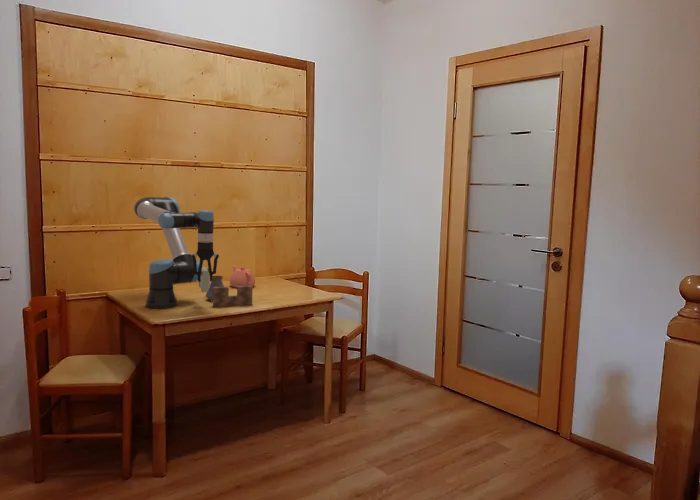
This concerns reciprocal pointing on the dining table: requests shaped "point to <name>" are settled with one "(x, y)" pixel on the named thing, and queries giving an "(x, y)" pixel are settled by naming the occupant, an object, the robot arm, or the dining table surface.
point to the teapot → (241, 277)
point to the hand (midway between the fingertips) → (204, 287)
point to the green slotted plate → (204, 280)
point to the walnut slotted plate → (224, 300)
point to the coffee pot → (215, 283)
